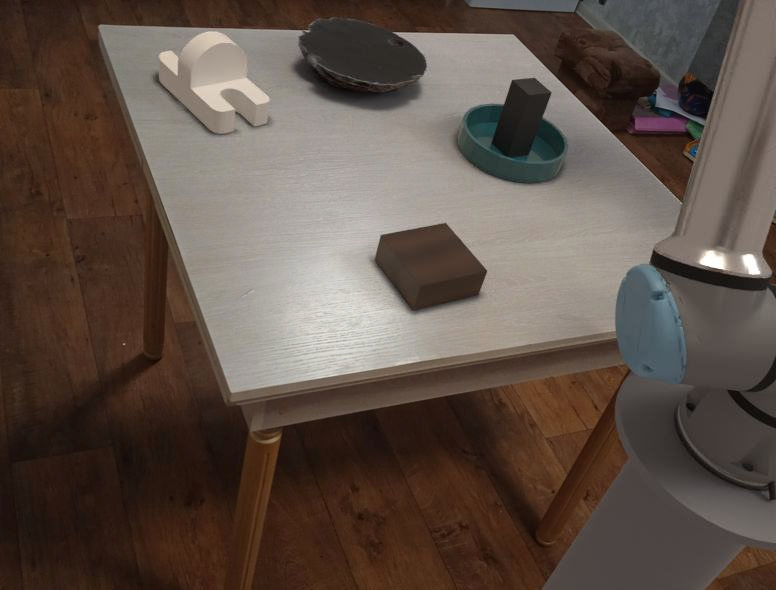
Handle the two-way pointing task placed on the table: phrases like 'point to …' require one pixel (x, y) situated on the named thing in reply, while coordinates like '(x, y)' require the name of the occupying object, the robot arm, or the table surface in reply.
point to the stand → (430, 265)
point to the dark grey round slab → (361, 55)
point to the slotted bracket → (214, 82)
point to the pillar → (521, 117)
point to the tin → (487, 157)
